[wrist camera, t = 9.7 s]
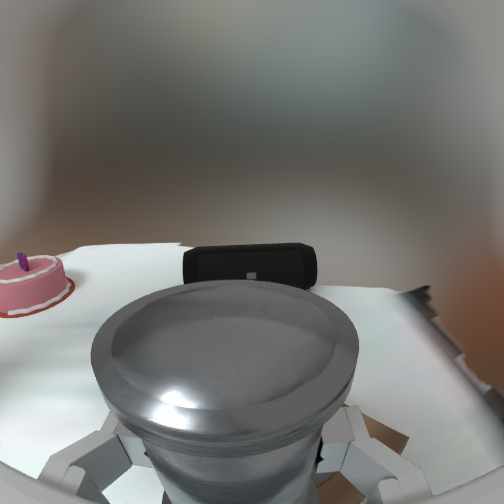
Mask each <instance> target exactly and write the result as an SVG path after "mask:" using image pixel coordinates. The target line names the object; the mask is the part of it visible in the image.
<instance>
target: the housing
mask: <svg viewBox="0 0 504 504" xmlns="http://www.w3.org/2000/svg"><path fill="white" fill-rule="evenodd" d="M358 353H359V339H358V335H357V331H356V329H355V327H354V325H353V323H352V322H351V320H350V319H349V318H348V316H347V315H346V314H345V313H344V312H343V311H342V310H341V309H340V308H338V307H337V306H335V305H334V304H333V303H331V302H330V301H328V300H326V299H324V298H322V297H320V296H318V295H316V294H314V293H311V292H308V291H305V290H303V289H299V288H296V287H292V286H288V285H283V284H278V283H272V282H265V281H254V280H215V281H204V282H197V283H190V284H185V285H179V286H175V287H171V288H167V289H164V290H160V291H157V292H154V293H151V294H149V295H146V296H144V297H141V298H139V299H137V300H135V301H133V302H131V303H129V304H128V305H126V306H124V307H123V308H121V309H120V310H118V311H117V312H115V313H114V314H113V315H112V316H111V317H110V318H108V319H107V321H106V322H105V323H104V324H103V325H102V326H101V328H100V329H99V331H98V332H97V334H96V336H95V338H94V341H93V343H92V348H91V364H92V367H93V371H94V374H95V377H96V380H97V382H98V385H99V388H100V390H101V393H102V395H103V398H104V400H105V402H106V404H107V406H108V408H109V409H110V411H111V412H112V414H113V415H114V416H115V417H116V418H117V419H118V421H119V422H120V423H121V424H122V425H123V426H125V427H126V428H127V429H128V430H130V431H131V432H132V433H134V434H135V435H137V436H138V437H140V438H141V440H142V443H143V445H144V447H145V449H146V452H147V454H148V456H149V458H150V461H151V463H152V465H153V467H154V469H155V471H156V473H157V475H158V477H159V479H160V481H161V483H162V485H163V487H164V489H165V490H164V494H163V500H162V504H319V497H318V493H317V489H316V487H315V484H314V482H313V480H312V479H311V477H312V473H313V469H314V464H315V460H316V456H317V452H318V447H319V443H320V438H321V434H322V429H323V425H324V424H325V423H326V422H327V421H328V420H329V419H330V418H332V417H333V416H334V415H335V414H336V412H337V411H338V410H339V408H340V407H341V406H342V404H343V403H344V402H345V400H346V398H347V396H348V394H349V392H350V389H351V386H352V382H353V378H354V373H355V368H356V363H357V358H358Z"/></svg>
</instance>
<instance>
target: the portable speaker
mask: <svg viewBox="0 0 504 504" xmlns="http://www.w3.org/2000/svg"><path fill="white" fill-rule="evenodd" d="M215 280H254V281H265V282H272V283H278V284H283V285H288V286H292V287H296V288H299V289H303V290H306V289H308V288H311V287H313V286H314V285H315V283H316V280H317V259H316V254H315V251H314V249H313V247H311V246H308V245H305V244H302V243H278V244H252V245H230V246H205V247H196V248H193V249H191V250H188V251H186V252H184V256H183V281H184V285H185V284H190V283H197V282H204V281H215Z"/></svg>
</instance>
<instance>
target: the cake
mask: <svg viewBox="0 0 504 504" xmlns="http://www.w3.org/2000/svg"><path fill="white" fill-rule="evenodd" d="M17 256H18V260H15V261H13V262H11V263H8V264H5V265H3V266H2V267H0V317H1V318H17V317H23V316H28V315H32V314H35V313H38V312H41V311H44V310H46V309H49V308H51V307H53V306H55V305H57V304H59V303H60V302H62V301H63V300H65V299H66V298H67V297H68V296H69V295H70V294H71V293H72V292H73V290H74V288H75V284H74V282H73V281H72V280H71V279H70V278H67V277H65V272H64V268H63V264H62V261H61V260H60V259H59V258H56V257H54V256H48V255H43V256H33V257H26V255H25V254H23V253H21V252H20V253H18V254H17Z"/></svg>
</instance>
